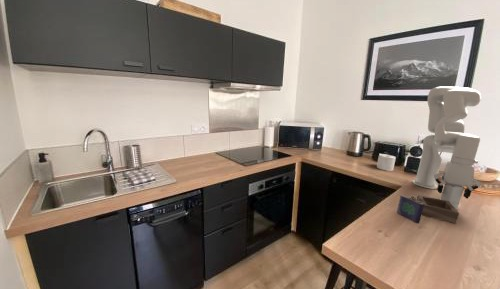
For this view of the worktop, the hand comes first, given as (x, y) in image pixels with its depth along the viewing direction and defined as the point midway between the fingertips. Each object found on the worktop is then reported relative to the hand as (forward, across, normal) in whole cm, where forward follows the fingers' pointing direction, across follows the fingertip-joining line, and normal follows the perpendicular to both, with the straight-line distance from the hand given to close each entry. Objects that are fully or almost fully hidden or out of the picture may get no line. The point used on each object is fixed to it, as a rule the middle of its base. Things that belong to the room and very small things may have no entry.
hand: (452, 194), depth 102 cm
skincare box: (+7, 0, -1) cm, 7 cm away
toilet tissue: (+6, +23, -54) cm, 59 cm away
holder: (+7, +8, +10) cm, 15 cm away
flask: (+8, +20, +22) cm, 31 cm away
